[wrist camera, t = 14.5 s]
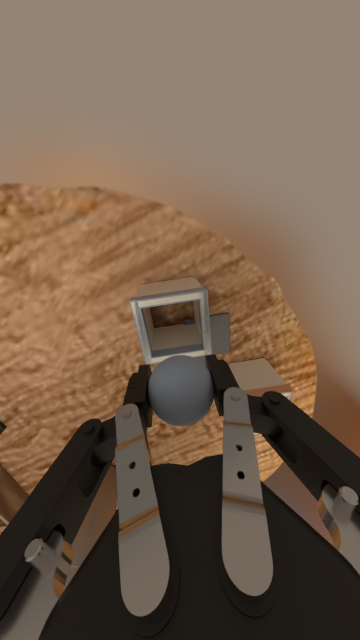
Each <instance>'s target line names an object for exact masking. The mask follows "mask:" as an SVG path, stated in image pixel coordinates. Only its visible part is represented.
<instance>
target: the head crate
mask: <svg viewBox="0 0 360 640" xmlns="http://www.w3.org/2000/svg"><path fill="white" fill-rule="evenodd" d="M28 497H29V496H28V495H27V494H26V493H25V492H24V491H23V489H22V488H21V487H20V486H19V485H18V484H17V483H16V482H15V480H14V479H13V478H12V477H11V476H10V475H9V474H8V473H7V472H6V470H5V469H4V468H3V467H2V466H1V465H0V529H3V528H6V527H7V525H8V524H9V523H10V521H11V520H12V519H13V517H14V516H15V515H16V513H17V512H18V510H19V509H20V508H21V506H22V505H23V504H24V502H25V501H26V499H27V498H28Z"/></svg>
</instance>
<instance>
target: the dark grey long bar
mask: <svg viewBox="0 0 360 640" xmlns="http://www.w3.org/2000/svg"><path fill="white" fill-rule="evenodd" d="M6 427H7V426H5V425H4V424H3V423H2V422H1V421H0V434H1V433H2V432H3V431H4V430H5V428H6Z"/></svg>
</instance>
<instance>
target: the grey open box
mask: <svg viewBox="0 0 360 640" xmlns="http://www.w3.org/2000/svg"><path fill="white" fill-rule="evenodd" d="M228 365H229V367H230V369H231V371H232V373H233V375H234V377H235V379H236V381H237V383H238V385H239V387H240V389H242V390H244V391H245V392H246V394H248V395H252V396H259V397H262V395H263V394H264V393H265V392H267V391H276V392H279V393H281V394H282V395H284V396H285V397H286V398H287V399H289V400H290V401H291V402H292V403H293V398H294V390H293V389H292V388H291V386H290V385H289V384H286V383H285V382H284V380H283V379H282V378H281V377H280V376H279V374H278V373H277V372H276V371H275V370H274V368H273V367H272V366H271V365H270V364H269V362H268V361H267V360H266V359H265V358H261V359H255V360H248V361H242V362H236V363H229V364H228ZM257 434H259V433H254V435H257Z"/></svg>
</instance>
